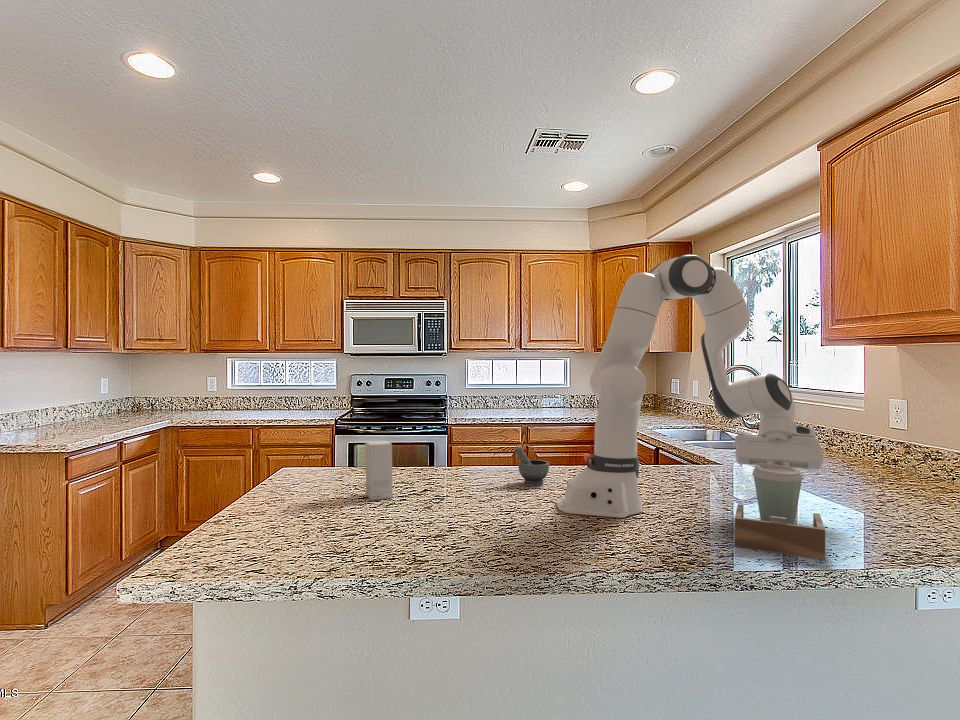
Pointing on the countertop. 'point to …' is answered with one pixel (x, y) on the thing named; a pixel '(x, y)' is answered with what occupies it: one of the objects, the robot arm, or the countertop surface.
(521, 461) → the mortar and pestle
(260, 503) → the countertop surface
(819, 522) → the dock cradle
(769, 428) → the robot arm
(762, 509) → the disposable coffee cup
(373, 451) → the skincare box
